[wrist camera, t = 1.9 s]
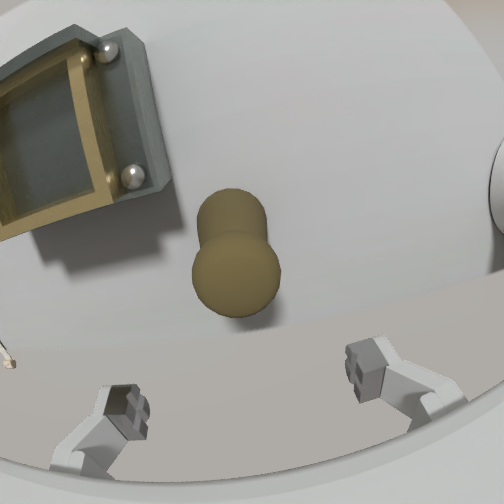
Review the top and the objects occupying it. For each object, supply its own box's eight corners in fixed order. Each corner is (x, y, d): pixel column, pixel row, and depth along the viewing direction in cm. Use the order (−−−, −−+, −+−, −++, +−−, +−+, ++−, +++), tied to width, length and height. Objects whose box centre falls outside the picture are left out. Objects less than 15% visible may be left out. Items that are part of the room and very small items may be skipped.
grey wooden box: (143, 42, 19) (106, 10, 11) (172, 177, 24) (147, 208, 16) (-1, 111, 19) (-63, 120, 11) (27, 222, 24) (-26, 262, 16)
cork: (230, 266, 28) (235, 349, 18) (182, 222, 26) (159, 289, 16) (280, 223, 27) (314, 289, 17) (233, 173, 25) (241, 213, 15)
